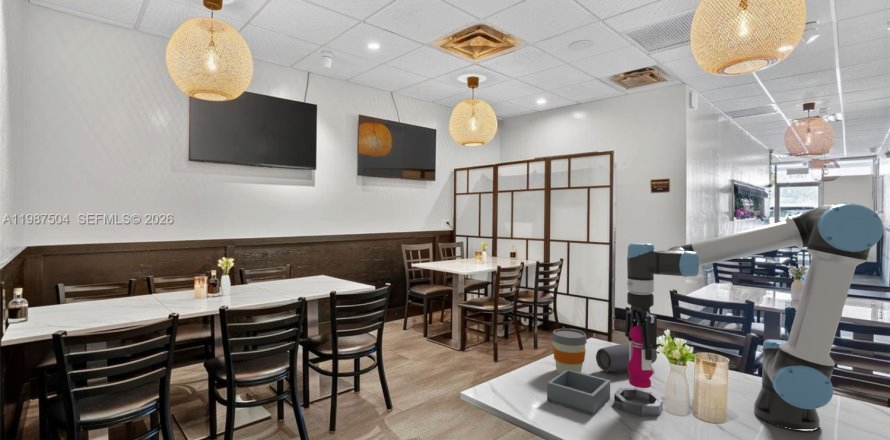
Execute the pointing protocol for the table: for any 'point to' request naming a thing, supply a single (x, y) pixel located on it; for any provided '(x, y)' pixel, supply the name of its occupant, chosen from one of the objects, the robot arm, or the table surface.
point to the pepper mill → (638, 361)
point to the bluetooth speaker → (616, 358)
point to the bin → (578, 391)
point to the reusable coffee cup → (569, 349)
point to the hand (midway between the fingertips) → (640, 365)
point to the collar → (636, 408)
